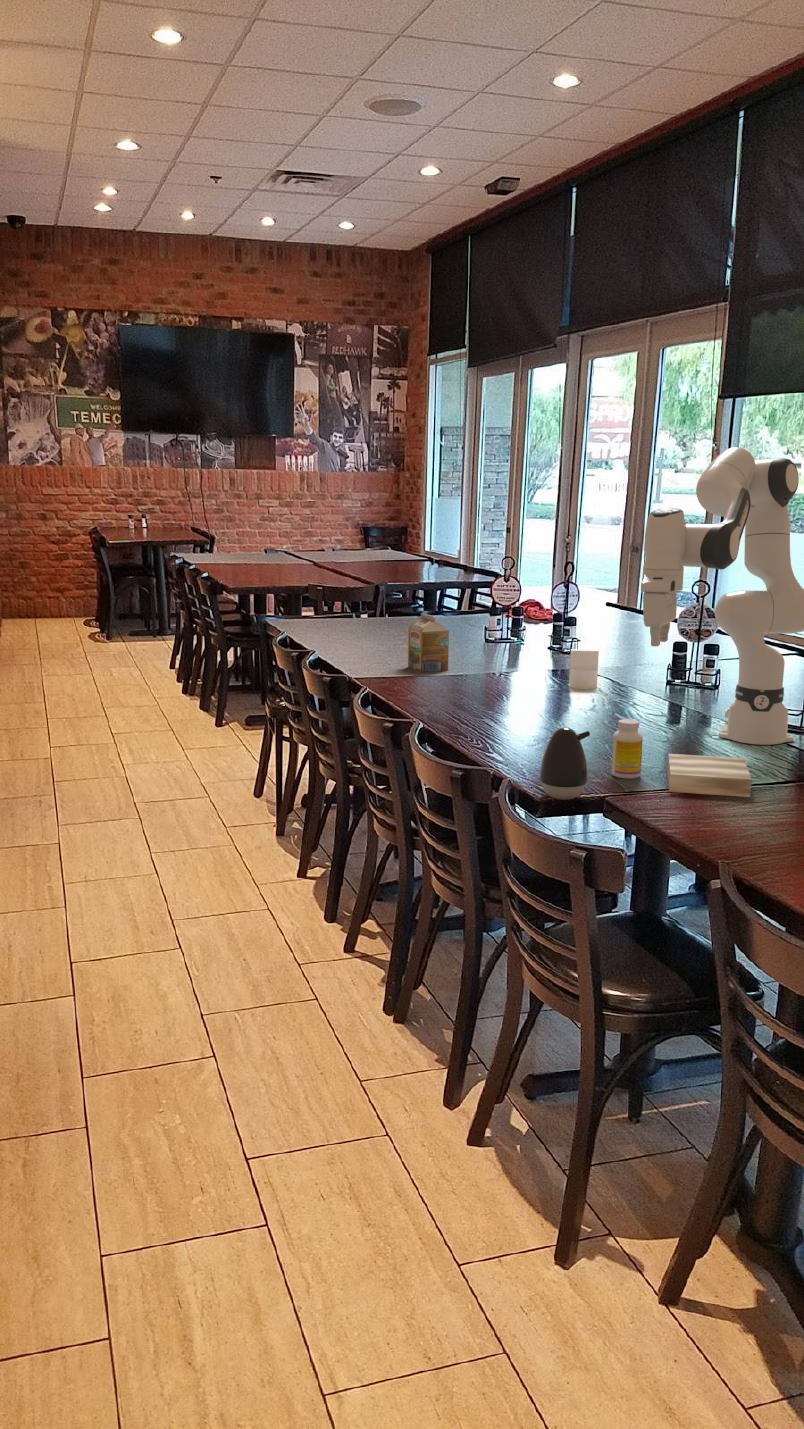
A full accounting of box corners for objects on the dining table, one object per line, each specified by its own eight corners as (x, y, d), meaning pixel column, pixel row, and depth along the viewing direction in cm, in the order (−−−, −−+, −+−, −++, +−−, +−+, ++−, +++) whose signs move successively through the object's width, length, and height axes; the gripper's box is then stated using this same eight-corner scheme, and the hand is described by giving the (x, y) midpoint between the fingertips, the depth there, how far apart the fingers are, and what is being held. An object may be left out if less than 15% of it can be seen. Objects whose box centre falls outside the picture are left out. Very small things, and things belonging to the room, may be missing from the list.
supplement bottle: (644, 779, 248) (648, 724, 245) (617, 780, 247) (620, 725, 244) (634, 771, 255) (637, 717, 252) (607, 772, 254) (609, 718, 251)
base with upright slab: (595, 684, 358) (597, 648, 355) (598, 689, 349) (599, 652, 347) (568, 683, 359) (569, 647, 356) (569, 688, 350) (571, 652, 347)
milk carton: (408, 667, 386) (408, 613, 382) (434, 665, 390) (435, 612, 386) (421, 672, 376) (421, 617, 372) (448, 670, 381) (449, 616, 377)
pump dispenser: (592, 803, 230) (596, 733, 226) (544, 803, 229) (547, 733, 226) (581, 789, 240) (584, 722, 236) (534, 789, 239) (537, 722, 236)
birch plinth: (667, 770, 256) (668, 753, 255) (742, 774, 252) (743, 758, 251) (669, 791, 238) (670, 774, 238) (750, 797, 235) (751, 779, 234)
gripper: (657, 579, 253) (654, 638, 256) (639, 584, 235) (636, 647, 237) (684, 580, 251) (681, 639, 253) (668, 585, 232) (665, 649, 235)
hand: (659, 643), depth 245 cm, fingers open, 8 cm apart
